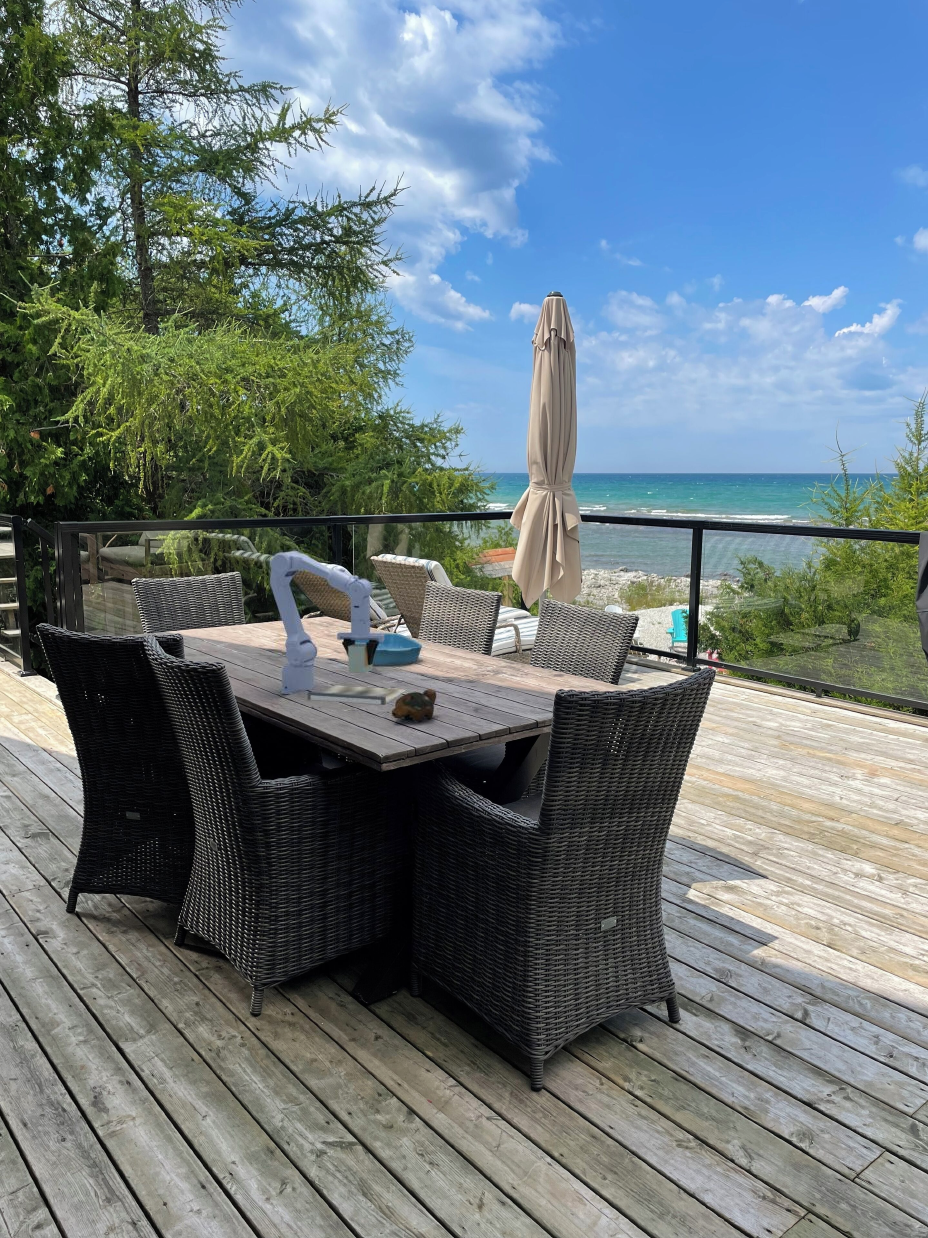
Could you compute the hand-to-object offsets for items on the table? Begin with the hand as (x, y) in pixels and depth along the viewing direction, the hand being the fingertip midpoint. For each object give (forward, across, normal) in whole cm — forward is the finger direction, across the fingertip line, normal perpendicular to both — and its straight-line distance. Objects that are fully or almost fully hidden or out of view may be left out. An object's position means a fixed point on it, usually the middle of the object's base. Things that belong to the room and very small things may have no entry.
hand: (361, 664), depth 275 cm
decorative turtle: (+11, +24, -21) cm, 34 cm away
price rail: (+10, 0, -12) cm, 16 cm away
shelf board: (+10, 0, -2) cm, 10 cm away
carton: (+2, 0, 0) cm, 2 cm away
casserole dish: (+11, -15, +62) cm, 65 cm away
